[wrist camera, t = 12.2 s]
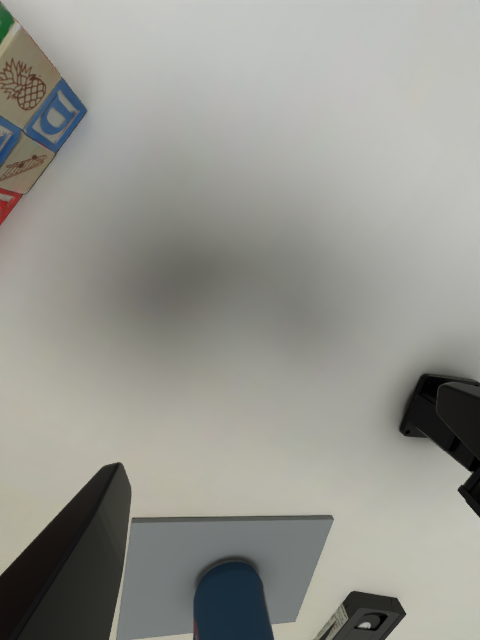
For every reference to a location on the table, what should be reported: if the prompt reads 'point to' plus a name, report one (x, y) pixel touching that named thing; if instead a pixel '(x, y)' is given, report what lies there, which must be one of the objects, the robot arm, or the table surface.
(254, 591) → the soda can
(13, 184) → the stack of blocks
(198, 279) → the table surface
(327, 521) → the desk mat
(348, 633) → the vhs tape
